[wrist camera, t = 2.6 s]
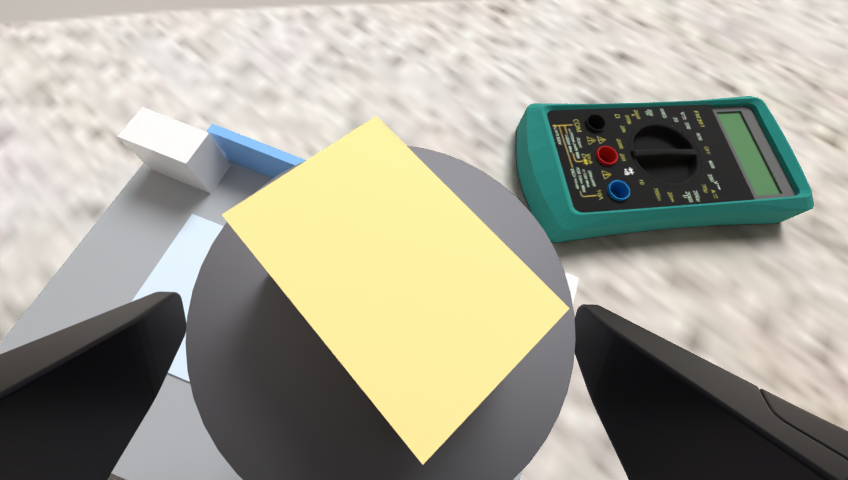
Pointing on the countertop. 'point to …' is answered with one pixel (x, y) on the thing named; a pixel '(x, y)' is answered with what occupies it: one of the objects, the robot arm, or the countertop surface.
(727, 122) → the digital multimeter
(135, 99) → the countertop surface
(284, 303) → the grey cylinder
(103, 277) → the board
